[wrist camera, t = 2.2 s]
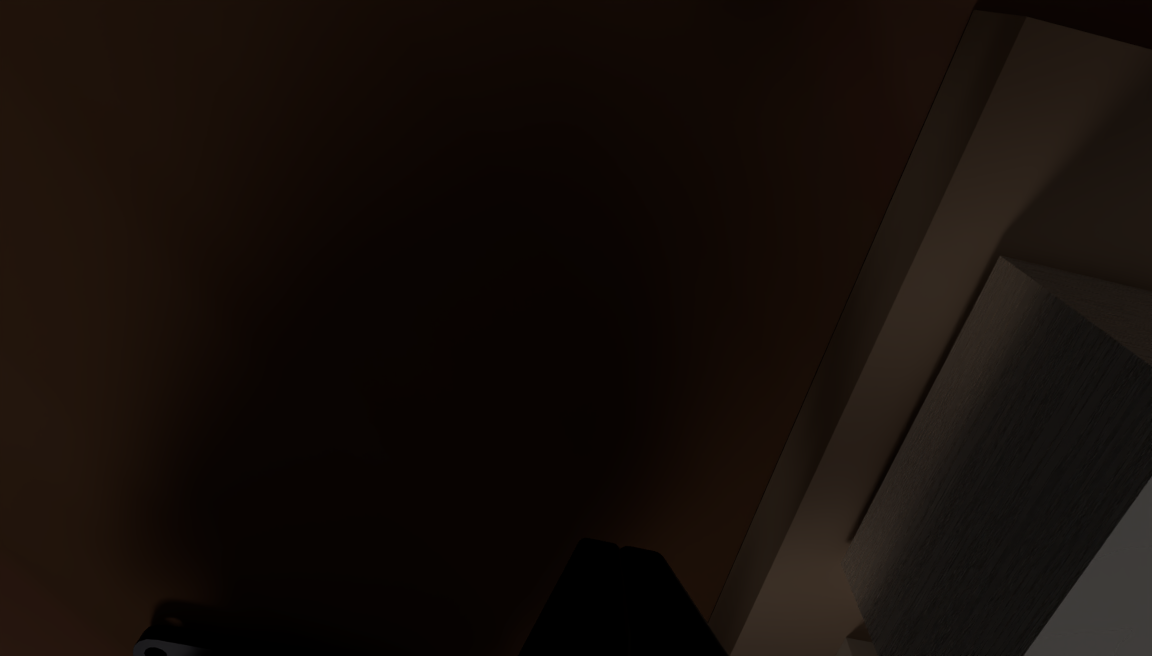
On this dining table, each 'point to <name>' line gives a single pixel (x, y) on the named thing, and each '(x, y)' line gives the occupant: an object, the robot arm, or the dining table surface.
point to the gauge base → (945, 296)
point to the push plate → (1022, 483)
